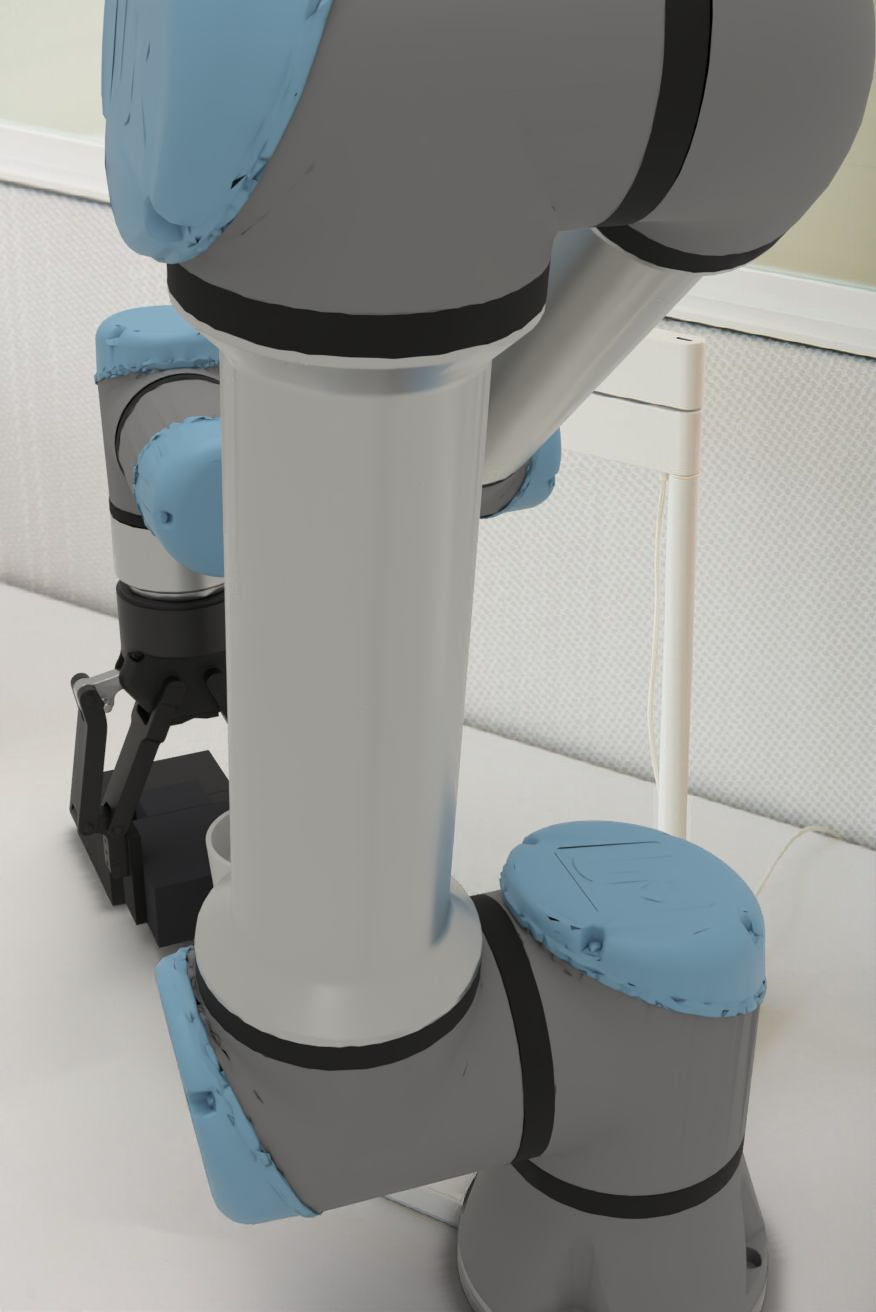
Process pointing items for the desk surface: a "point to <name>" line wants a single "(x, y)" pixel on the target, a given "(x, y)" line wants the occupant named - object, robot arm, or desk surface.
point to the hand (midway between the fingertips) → (202, 896)
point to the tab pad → (176, 857)
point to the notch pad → (159, 775)
